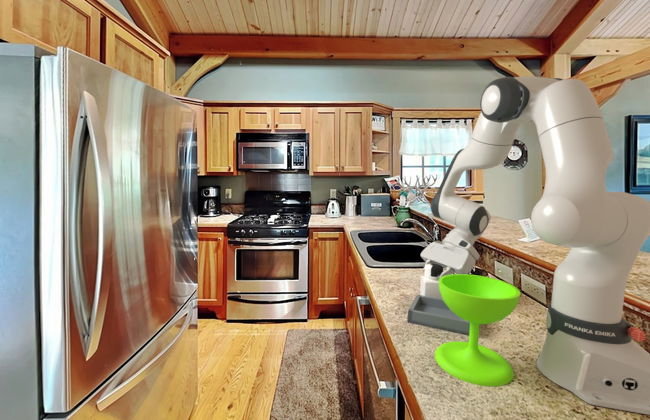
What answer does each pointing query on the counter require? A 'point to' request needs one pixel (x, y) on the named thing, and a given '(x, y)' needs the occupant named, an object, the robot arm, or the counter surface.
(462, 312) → the wineglass
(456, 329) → the parts tray
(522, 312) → the counter surface
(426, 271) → the medicine bottle
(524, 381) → the counter surface
